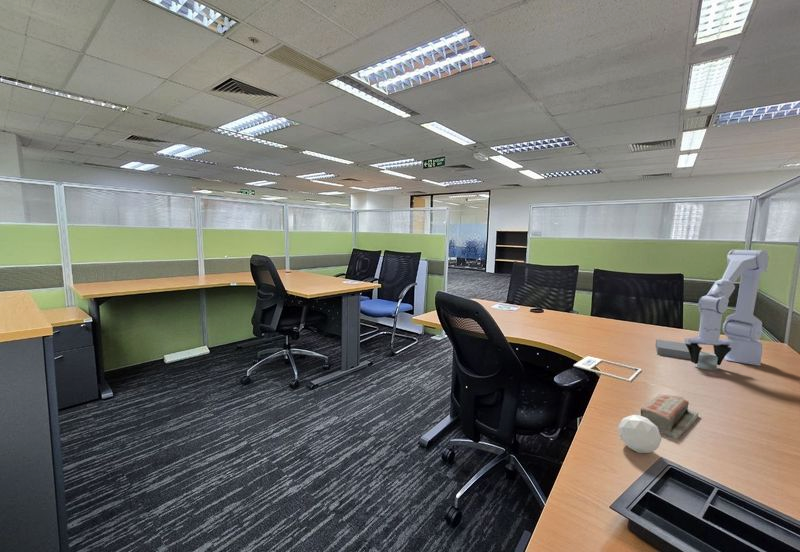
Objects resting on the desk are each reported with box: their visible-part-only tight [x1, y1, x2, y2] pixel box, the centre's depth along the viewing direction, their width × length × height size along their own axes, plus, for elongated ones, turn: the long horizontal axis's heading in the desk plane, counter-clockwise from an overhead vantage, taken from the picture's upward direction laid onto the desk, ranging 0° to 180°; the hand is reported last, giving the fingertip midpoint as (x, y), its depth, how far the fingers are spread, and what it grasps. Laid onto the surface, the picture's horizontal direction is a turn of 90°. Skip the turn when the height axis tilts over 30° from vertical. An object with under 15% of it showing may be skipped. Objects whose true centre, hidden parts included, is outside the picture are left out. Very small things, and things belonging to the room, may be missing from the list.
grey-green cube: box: [694, 351, 718, 372], centre depth 123 cm, size 5×5×5 cm
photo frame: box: [573, 355, 642, 383], centre depth 122 cm, size 15×1×18 cm
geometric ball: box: [617, 414, 662, 454], centre depth 74 cm, size 8×8×8 cm
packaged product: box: [635, 394, 700, 439], centre depth 87 cm, size 18×5×10 cm
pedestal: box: [655, 338, 702, 361], centre depth 139 cm, size 14×14×3 cm
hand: (705, 363), depth 124 cm, fingers closed on grey-green cube, 7 cm apart
